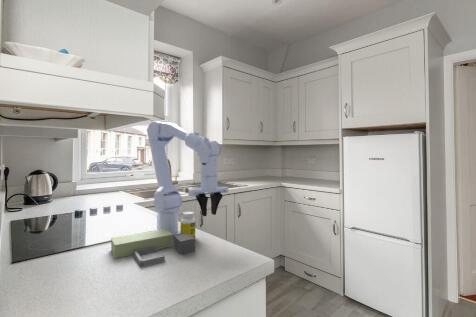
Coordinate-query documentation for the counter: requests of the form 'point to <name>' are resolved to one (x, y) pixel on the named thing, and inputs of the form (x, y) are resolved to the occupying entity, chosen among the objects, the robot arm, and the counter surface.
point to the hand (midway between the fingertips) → (209, 214)
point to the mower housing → (142, 245)
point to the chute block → (184, 243)
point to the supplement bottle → (188, 224)
